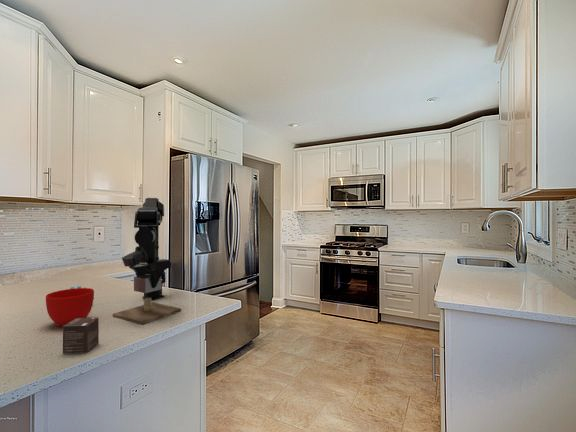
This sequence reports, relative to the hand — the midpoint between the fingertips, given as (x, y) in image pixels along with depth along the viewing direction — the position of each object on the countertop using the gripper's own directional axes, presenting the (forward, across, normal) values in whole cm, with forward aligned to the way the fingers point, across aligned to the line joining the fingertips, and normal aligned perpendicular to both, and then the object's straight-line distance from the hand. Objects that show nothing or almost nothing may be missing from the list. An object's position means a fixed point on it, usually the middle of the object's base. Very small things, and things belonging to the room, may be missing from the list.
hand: (147, 286), depth 110 cm
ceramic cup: (+10, -15, -17) cm, 25 cm away
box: (+10, +10, -27) cm, 31 cm away
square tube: (+1, 0, 0) cm, 1 cm away
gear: (+10, -30, -8) cm, 33 cm away
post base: (+10, 0, 0) cm, 10 cm away
